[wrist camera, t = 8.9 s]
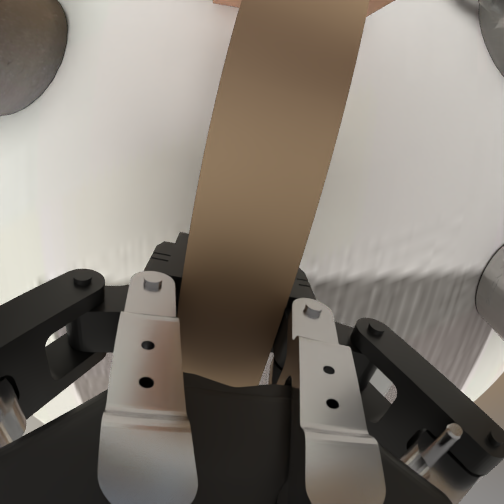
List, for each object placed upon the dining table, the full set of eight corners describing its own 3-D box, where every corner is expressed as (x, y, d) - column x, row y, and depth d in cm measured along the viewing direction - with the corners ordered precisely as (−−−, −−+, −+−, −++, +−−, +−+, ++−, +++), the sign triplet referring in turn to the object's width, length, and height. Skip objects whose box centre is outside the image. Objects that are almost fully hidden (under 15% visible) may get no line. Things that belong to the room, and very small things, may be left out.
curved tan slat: (251, -2, 10) (264, -70, 5) (320, 16, 11) (376, -36, 5) (174, 396, 19) (163, 476, 13) (220, 403, 19) (219, 483, 14)
